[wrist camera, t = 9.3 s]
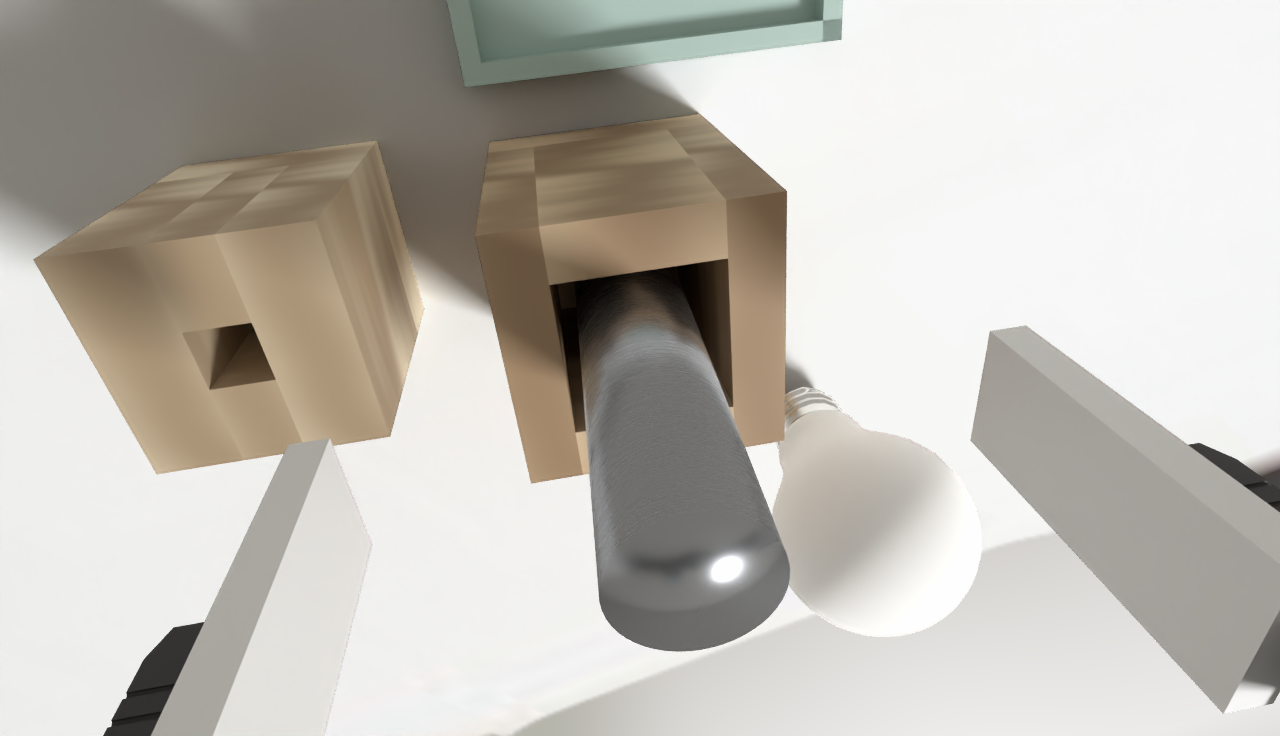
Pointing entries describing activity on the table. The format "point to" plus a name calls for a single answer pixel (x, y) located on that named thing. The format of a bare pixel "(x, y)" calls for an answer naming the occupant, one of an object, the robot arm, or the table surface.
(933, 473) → the light bulb
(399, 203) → the table surface
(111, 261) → the narrow-bore block
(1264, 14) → the table surface
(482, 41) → the tray
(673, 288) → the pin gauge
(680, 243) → the wide-bore block
